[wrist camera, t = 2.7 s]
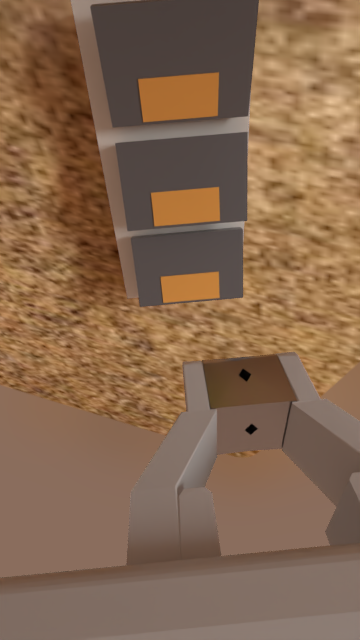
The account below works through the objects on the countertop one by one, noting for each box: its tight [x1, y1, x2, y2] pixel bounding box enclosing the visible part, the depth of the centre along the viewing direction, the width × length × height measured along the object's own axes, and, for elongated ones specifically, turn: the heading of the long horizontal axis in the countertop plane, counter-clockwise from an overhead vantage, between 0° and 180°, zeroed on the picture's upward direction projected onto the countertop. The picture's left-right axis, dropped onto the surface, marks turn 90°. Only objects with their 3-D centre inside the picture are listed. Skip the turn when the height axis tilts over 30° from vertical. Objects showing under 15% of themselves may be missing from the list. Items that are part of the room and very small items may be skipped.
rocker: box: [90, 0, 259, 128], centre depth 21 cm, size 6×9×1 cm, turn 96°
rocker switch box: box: [71, 0, 251, 299], centre depth 28 cm, size 21×11×4 cm, turn 4°
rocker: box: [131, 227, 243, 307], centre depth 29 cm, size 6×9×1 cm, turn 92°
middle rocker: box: [115, 132, 248, 231], centre depth 25 cm, size 6×9×1 cm, turn 92°
